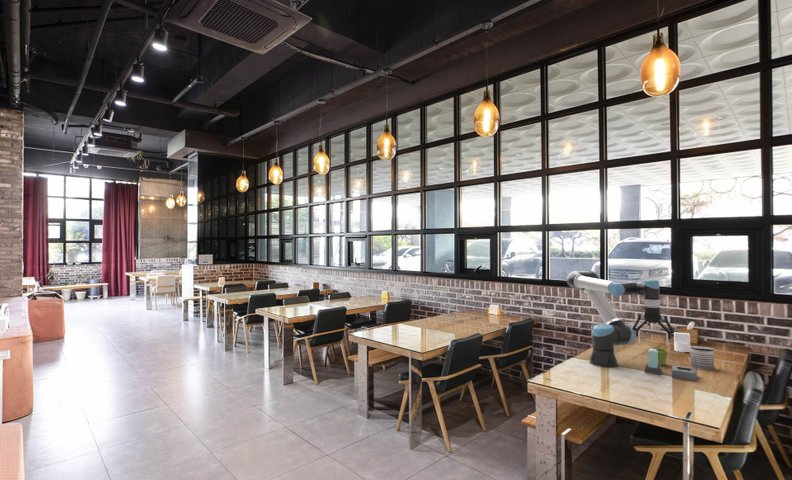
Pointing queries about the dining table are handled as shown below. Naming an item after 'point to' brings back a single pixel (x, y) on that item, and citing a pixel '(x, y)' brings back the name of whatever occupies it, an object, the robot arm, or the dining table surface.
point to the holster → (653, 370)
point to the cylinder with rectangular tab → (682, 342)
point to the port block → (684, 373)
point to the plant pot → (661, 355)
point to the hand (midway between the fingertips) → (653, 343)
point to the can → (702, 357)
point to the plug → (653, 358)
